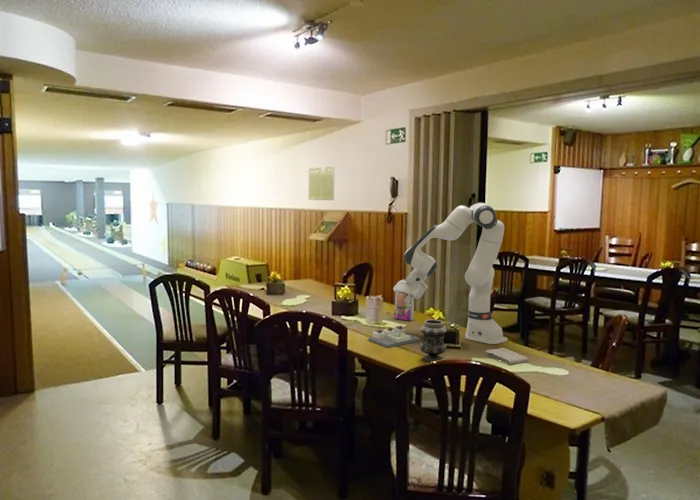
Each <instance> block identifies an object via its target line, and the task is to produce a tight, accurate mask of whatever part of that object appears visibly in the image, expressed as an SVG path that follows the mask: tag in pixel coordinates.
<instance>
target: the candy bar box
mask: <svg viewBox="0 0 700 500" xmlns="http://www.w3.org/2000/svg"><path fill="white" fill-rule="evenodd" d="M396 297H397V293H395V292H394V320H399V321H400V320H401V321H405V322H412V321H413V320H414V319H415V318H414V317H415V316H414V315H415V312H414V310H415V309H414V308H415V298H413V297H412V298H411V299H410V300H408V301H407V303H406V311H397V308H396V305H397V300H396V299H395V298H396ZM406 297H408V296H406Z"/></svg>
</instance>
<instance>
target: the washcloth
mask: <svg viewBox="0 0 700 500" xmlns="http://www.w3.org/2000/svg"><path fill="white" fill-rule="evenodd" d="M484 354H485V355H486V356H487V357H489V356H490V357H489V358H490V359H491V358H492V359H493V358H494V360H496V359H497V360H496V361H498V360H501V361H503V362H506V363H508V364H512V365H516V364H515V363H517V364H524V363H528V362H529V358H528V357H526V356H525V355H522V354H521V353H519V352H518V353H517V352H516V351H513V350H510V349H508V348H506V347H500V348H492V349H487V350H485V352H484ZM503 362H502V363H503Z"/></svg>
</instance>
